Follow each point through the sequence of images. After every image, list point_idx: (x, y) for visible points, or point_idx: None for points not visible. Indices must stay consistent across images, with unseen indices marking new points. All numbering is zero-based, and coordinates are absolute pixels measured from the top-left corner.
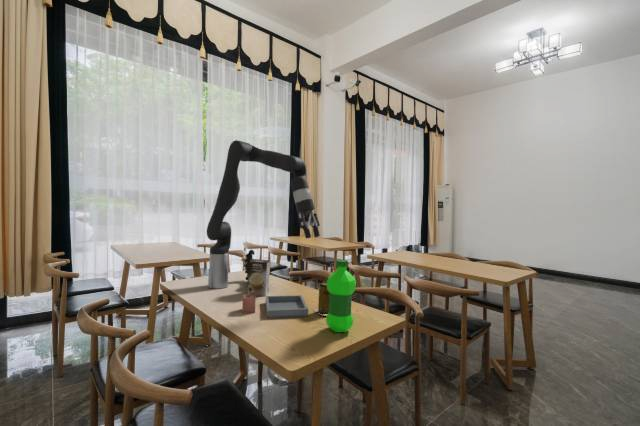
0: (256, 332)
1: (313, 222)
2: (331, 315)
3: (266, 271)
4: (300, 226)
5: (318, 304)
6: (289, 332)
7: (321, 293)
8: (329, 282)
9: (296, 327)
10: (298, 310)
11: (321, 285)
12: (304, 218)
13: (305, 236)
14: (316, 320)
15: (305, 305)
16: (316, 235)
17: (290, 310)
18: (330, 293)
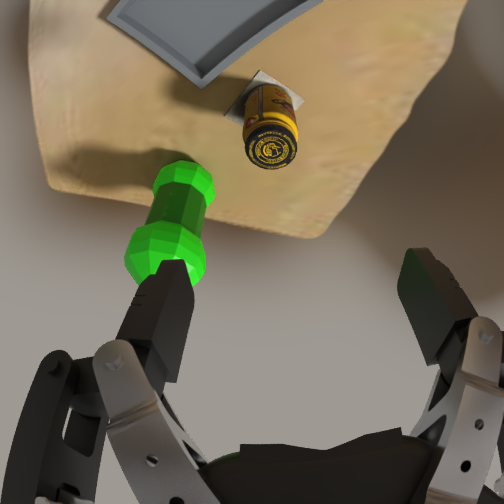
0: (55, 69)
1: (436, 438)
2: (155, 193)
3: None
4: (45, 375)
5: (255, 95)
6: (103, 110)
7: (243, 128)
8: (126, 253)
9: (130, 103)
10: (178, 69)
11: (247, 139)
12: (91, 493)
13: (157, 272)
14: (198, 112)
15: (224, 65)
16: (407, 275)
17: (159, 55)
18: (146, 224)
